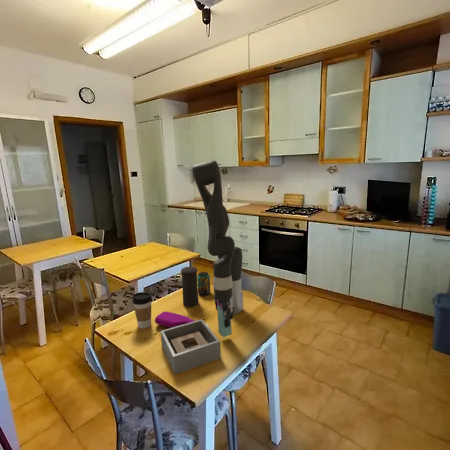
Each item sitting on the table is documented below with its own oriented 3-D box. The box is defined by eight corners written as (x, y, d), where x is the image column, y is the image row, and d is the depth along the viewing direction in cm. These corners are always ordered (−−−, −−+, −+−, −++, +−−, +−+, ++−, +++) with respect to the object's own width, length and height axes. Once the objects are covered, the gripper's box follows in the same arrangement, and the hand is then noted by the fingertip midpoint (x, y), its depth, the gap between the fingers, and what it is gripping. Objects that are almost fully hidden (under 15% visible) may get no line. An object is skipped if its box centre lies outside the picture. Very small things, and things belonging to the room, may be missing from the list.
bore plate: (198, 337, 117) (198, 330, 117) (210, 353, 107) (209, 346, 106) (170, 346, 112) (170, 339, 112) (180, 364, 102) (179, 356, 101)
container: (201, 300, 152) (199, 265, 148) (195, 308, 144) (193, 271, 140) (186, 299, 154) (184, 264, 150) (180, 307, 146) (177, 270, 142)
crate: (202, 333, 121) (202, 319, 120) (220, 357, 106) (220, 341, 104) (161, 346, 114) (160, 330, 112) (174, 374, 98) (173, 356, 96)
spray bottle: (164, 316, 137) (211, 327, 130) (152, 324, 126) (202, 337, 119) (165, 310, 137) (212, 321, 129) (152, 317, 126) (203, 330, 119)
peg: (227, 329, 119) (225, 303, 117) (231, 334, 116) (230, 307, 113) (218, 332, 117) (217, 306, 115) (223, 337, 114) (221, 310, 111)
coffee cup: (137, 320, 134) (134, 291, 131) (155, 319, 134) (152, 290, 131) (133, 330, 126) (129, 299, 123) (152, 329, 126) (149, 298, 123)
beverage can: (203, 297, 156) (202, 277, 154) (195, 293, 161) (194, 273, 159) (212, 293, 161) (212, 273, 158) (205, 289, 166) (204, 270, 163)
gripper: (240, 289, 108) (241, 329, 111) (222, 277, 120) (224, 314, 124) (222, 294, 104) (224, 335, 108) (207, 281, 117) (209, 318, 120)
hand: (224, 323), depth 116 cm, fingers closed on peg, 4 cm apart
